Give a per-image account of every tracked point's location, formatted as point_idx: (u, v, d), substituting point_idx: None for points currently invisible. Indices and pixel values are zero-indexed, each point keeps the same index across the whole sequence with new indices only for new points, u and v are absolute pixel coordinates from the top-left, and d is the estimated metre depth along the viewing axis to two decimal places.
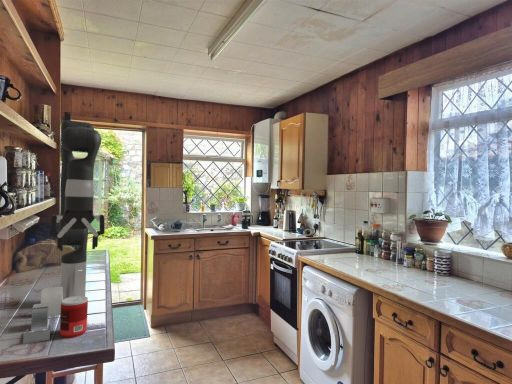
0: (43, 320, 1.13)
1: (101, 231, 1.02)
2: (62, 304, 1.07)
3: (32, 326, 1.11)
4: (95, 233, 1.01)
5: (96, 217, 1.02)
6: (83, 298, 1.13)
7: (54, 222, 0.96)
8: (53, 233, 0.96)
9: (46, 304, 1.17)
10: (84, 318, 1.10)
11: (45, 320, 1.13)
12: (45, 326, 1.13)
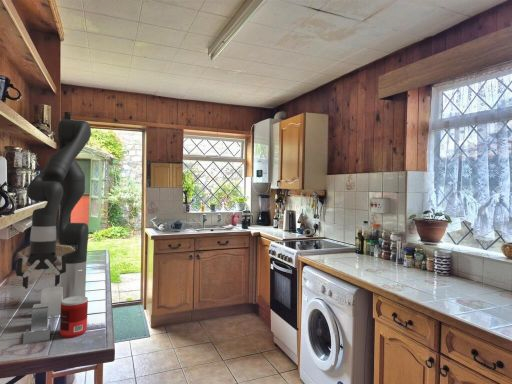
0: (43, 320, 1.13)
1: (63, 270, 1.17)
2: (62, 304, 1.07)
3: (32, 326, 1.11)
4: (57, 272, 1.16)
5: (58, 258, 1.17)
6: (83, 298, 1.13)
7: (20, 264, 1.11)
8: (19, 274, 1.11)
9: (46, 304, 1.17)
10: (84, 318, 1.10)
11: (45, 320, 1.13)
12: (45, 326, 1.13)
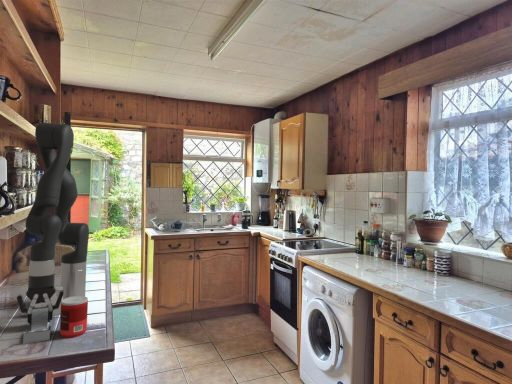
0: (43, 320, 1.13)
1: (55, 306, 1.16)
2: (62, 304, 1.07)
3: (32, 326, 1.11)
4: (50, 308, 1.15)
5: (56, 292, 1.17)
6: (83, 298, 1.13)
7: (20, 301, 1.11)
8: (23, 310, 1.11)
9: None
10: (84, 318, 1.10)
11: (45, 320, 1.13)
12: (46, 326, 1.13)
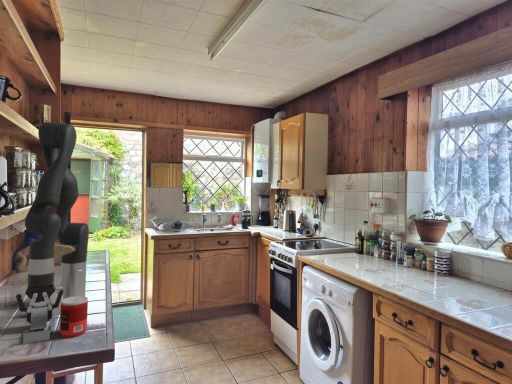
0: (42, 319, 1.12)
1: (55, 305, 1.15)
2: (62, 304, 1.07)
3: (31, 325, 1.10)
4: (49, 307, 1.14)
5: (56, 291, 1.16)
6: (83, 298, 1.13)
7: (20, 300, 1.10)
8: (23, 309, 1.10)
9: None
10: (84, 318, 1.10)
11: (45, 319, 1.12)
12: (45, 325, 1.12)
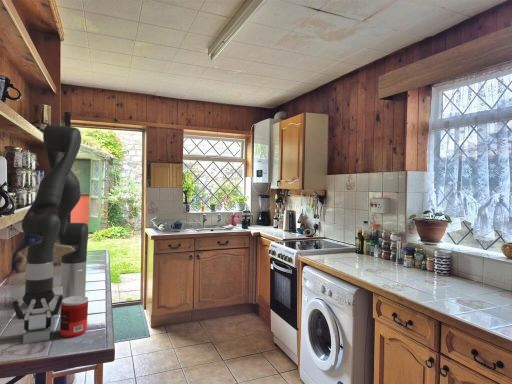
0: (41, 327, 1.05)
1: (54, 312, 1.08)
2: (62, 304, 1.07)
3: None
4: (48, 314, 1.08)
5: (55, 297, 1.09)
6: (83, 298, 1.13)
7: (17, 307, 1.04)
8: (20, 316, 1.04)
9: None
10: (84, 318, 1.10)
11: (43, 327, 1.05)
12: None
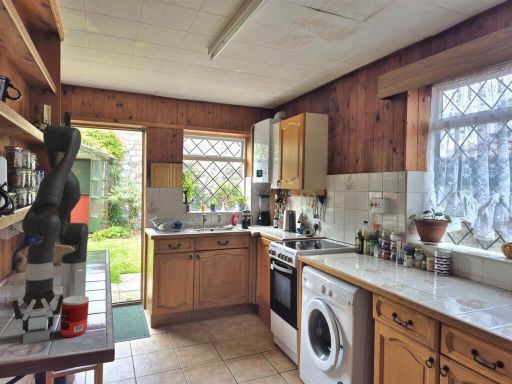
0: (41, 329, 1.05)
1: (56, 311, 1.09)
2: (63, 303, 1.07)
3: None
4: (50, 314, 1.08)
5: (56, 297, 1.09)
6: (84, 298, 1.13)
7: (16, 307, 1.03)
8: (18, 316, 1.04)
9: (44, 312, 1.09)
10: (84, 318, 1.10)
11: (43, 329, 1.05)
12: None
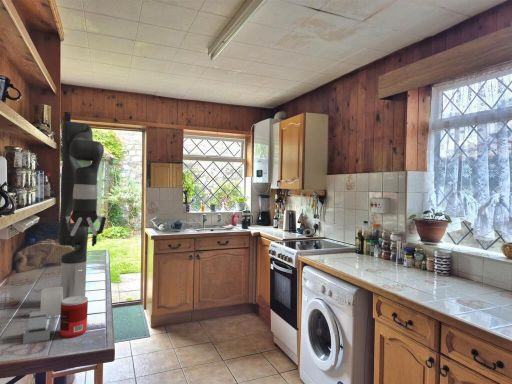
0: (41, 329, 1.05)
1: (99, 231, 1.18)
2: (62, 304, 1.07)
3: None
4: (94, 232, 1.17)
5: (99, 218, 1.19)
6: (83, 298, 1.13)
7: (65, 223, 1.13)
8: (67, 232, 1.13)
9: (44, 312, 1.09)
10: (84, 318, 1.10)
11: (43, 329, 1.05)
12: None
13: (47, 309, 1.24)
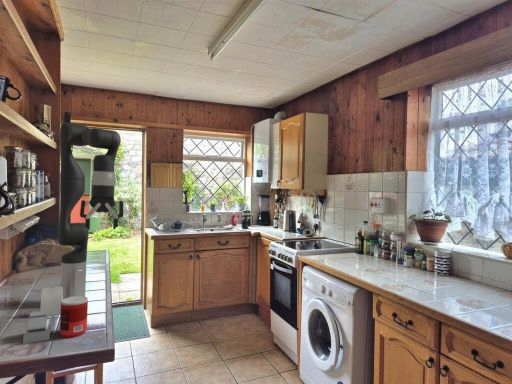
0: (41, 329, 1.05)
1: (120, 214, 1.24)
2: (62, 304, 1.07)
3: None
4: (116, 216, 1.23)
5: (116, 203, 1.24)
6: (83, 298, 1.13)
7: (83, 206, 1.18)
8: (82, 215, 1.17)
9: (44, 312, 1.09)
10: (84, 318, 1.10)
11: (43, 329, 1.05)
12: None
13: (47, 309, 1.24)
